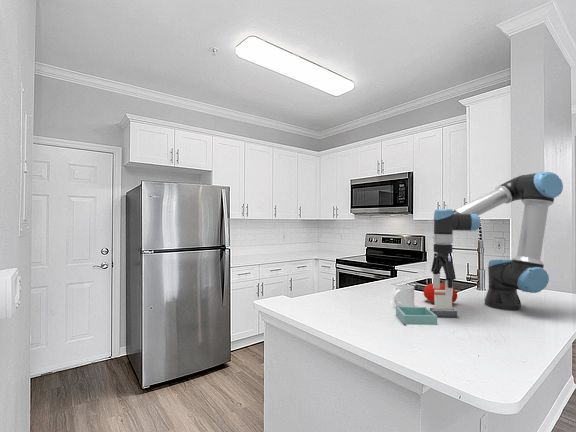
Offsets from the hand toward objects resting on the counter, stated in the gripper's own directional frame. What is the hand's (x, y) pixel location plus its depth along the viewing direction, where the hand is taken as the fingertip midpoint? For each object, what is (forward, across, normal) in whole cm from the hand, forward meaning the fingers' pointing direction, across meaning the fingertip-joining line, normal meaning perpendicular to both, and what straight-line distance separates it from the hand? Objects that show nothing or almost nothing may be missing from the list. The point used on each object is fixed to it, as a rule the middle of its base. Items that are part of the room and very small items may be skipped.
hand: (442, 291), depth 143 cm
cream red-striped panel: (+10, 0, 0) cm, 10 cm away
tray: (+11, +6, -14) cm, 19 cm away
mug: (+11, -13, -14) cm, 22 cm away
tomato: (+11, -22, +8) cm, 26 cm away
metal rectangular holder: (+11, 0, 0) cm, 11 cm away
